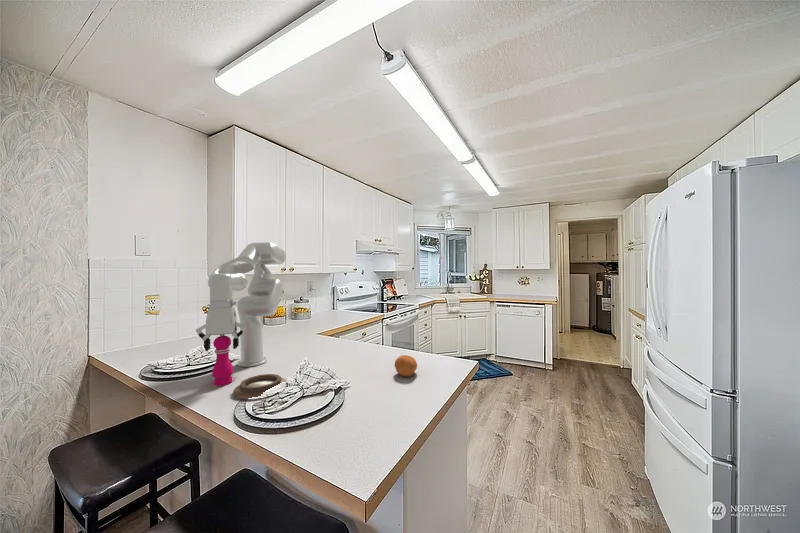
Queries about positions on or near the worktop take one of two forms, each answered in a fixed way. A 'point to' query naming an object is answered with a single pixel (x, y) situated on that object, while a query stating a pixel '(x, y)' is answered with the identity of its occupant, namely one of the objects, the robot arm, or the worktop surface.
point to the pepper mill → (222, 361)
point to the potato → (405, 365)
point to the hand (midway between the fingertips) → (221, 349)
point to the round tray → (256, 385)
